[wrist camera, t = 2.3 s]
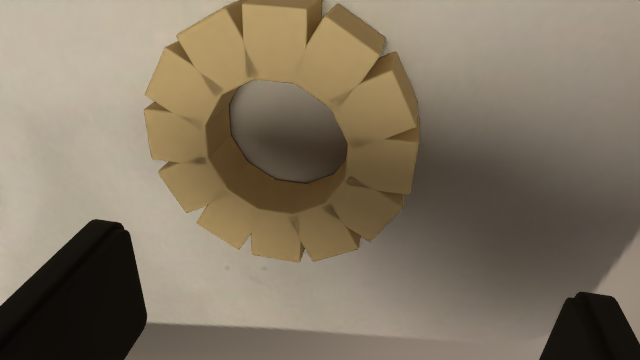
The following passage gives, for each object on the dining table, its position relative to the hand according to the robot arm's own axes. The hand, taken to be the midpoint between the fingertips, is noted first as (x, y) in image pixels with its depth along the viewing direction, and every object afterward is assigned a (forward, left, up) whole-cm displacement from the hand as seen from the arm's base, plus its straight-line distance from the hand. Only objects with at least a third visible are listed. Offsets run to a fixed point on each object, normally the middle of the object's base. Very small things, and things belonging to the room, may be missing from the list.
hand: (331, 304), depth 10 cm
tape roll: (+3, 0, -9) cm, 10 cm away
